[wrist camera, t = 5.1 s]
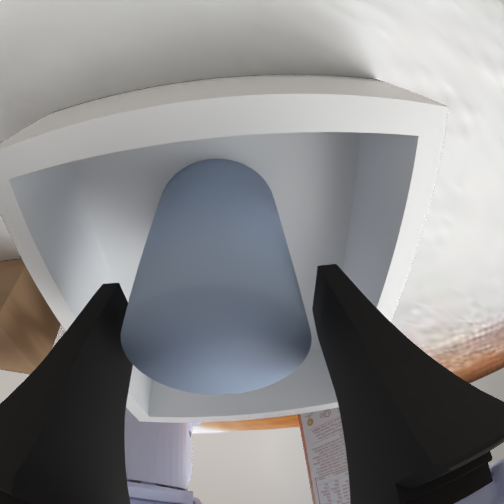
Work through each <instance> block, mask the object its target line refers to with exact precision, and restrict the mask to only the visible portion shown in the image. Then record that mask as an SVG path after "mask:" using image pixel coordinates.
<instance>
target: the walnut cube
mask: <svg viewBox="0 0 504 504" xmlns="http://www.w3.org/2000/svg"><path fill="white" fill-rule="evenodd" d="M60 325H61V324H60V322H59V321H58V319H57V318H56V316H55V315H54V313H53V312H52V310H51V308H50V307H49V305H48V304H47V302H46V300H45V299H44V297H43V296H42V294H41V292H40V291H39V289H38V287H37V285H36V284H35V282H34V280H33V278H32V277H31V275H30V273H29V271H28V269H27V268H26V266H25V264H24V262H23V260H22V258H21V259H13V260H5V261H0V369H1V370H7V371H13V372H19V373H26V374H31V373H32V372H33V371H34V370H35V369H36V368H37V367H38V365H39V364H40V363H41V362H42V361H43V360H44V358H45V357H46V356H47V355H48V354H49V352H50V351H51V350H52V347H53V344H54V341H55V339H56V336H57V333H58V330H59V328H60Z"/></svg>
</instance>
